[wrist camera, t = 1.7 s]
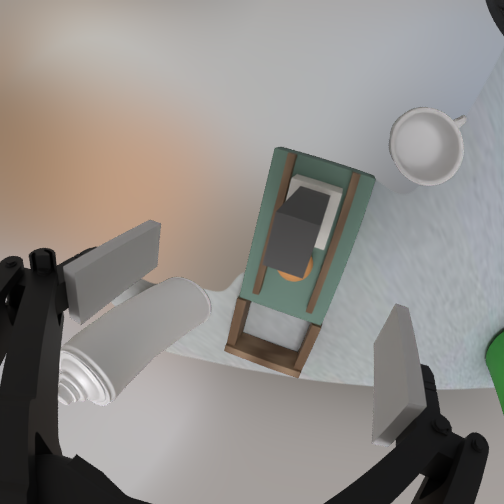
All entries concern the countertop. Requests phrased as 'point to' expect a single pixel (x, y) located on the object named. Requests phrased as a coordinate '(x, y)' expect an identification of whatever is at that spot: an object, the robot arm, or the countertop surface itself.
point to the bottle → (497, 366)
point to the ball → (294, 278)
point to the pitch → (299, 293)
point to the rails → (335, 238)
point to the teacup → (427, 145)
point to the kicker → (301, 224)
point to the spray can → (128, 340)
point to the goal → (267, 345)
